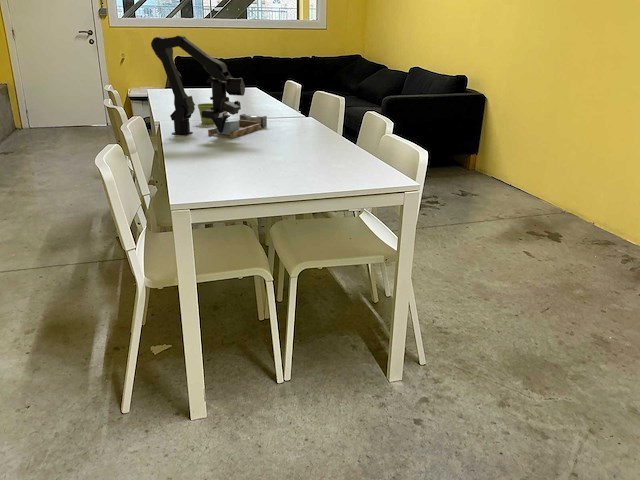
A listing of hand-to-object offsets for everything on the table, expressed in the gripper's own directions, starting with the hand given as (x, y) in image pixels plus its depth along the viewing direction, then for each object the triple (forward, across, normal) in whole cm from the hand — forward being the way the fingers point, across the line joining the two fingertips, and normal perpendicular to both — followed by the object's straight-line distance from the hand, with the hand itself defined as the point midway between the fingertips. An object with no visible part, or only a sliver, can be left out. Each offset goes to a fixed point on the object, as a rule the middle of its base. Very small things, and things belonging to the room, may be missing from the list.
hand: (220, 132), depth 222 cm
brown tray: (+2, +12, 0) cm, 12 cm away
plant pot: (+2, +23, +22) cm, 32 cm away
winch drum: (+2, +28, 0) cm, 28 cm away
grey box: (+1, +6, 0) cm, 6 cm away
